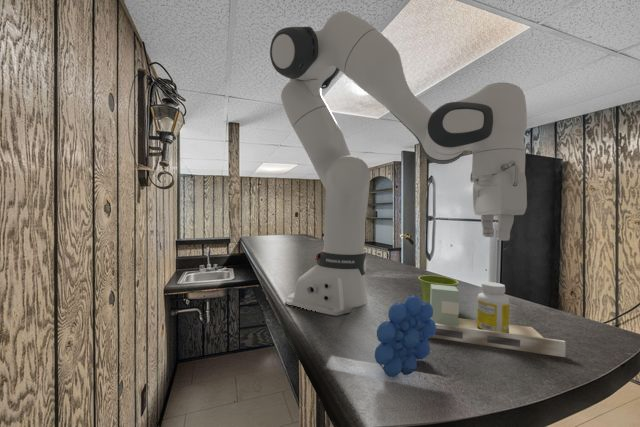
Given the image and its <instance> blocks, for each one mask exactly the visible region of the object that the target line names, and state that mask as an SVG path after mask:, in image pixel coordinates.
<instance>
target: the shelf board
mask: <svg viewBox="0 0 640 427" xmlns="http://www.w3.org/2000/svg"><path fill="white" fill-rule="evenodd" d="M435 324H436V323H435ZM431 339H439V340H445V341H454V342H459V343H467V344H471V345H472V344H473V345H479V346H485V347H486V346H487V347H492V348H494V347H495V348H499V349H508V350H512V351H513V350H514V351H519V352H520V351H521V352H527V353H533V354H541V355H548V356H552V357H553V356H555V357H561V358H566V349H567V348H566V347H567V345H566V344H567V343H566V342H567V341H565V340H563V339H562V340H561V339H556V338H548V337H547V338H546V337H543V335H542V334H540V332H538V331H537V330H536V329H535V328H533V327H532V326H524V325H519V324H518V325H516V324H510V323H509V333H504V332H496V331H489V330H481V329H477V319H468V318H460V317H458V326H451V325H444V324H436V333H435V335H434V336H433V337H431Z"/></svg>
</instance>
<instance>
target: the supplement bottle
mask: <svg viewBox="0 0 640 427" xmlns="http://www.w3.org/2000/svg"><path fill="white" fill-rule="evenodd" d="M481 290H482V292H480V293H478V295H477V302H476V305H477V307H476V308H477V309H476V312H477V313H476V320H477V329H481V330H489V331H496V332H504V333H509V324H510V300H509V298H508V297H507V296H505V295H504V294H506V285H505V284H503V283H499V282H495V281H483V282H481Z"/></svg>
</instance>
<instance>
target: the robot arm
mask: <svg viewBox="0 0 640 427" xmlns="http://www.w3.org/2000/svg"><path fill="white" fill-rule="evenodd" d="M269 46H270V48H269V56H270V61H271V64H272V66H273V69H274V70H275V71H276V72H277V73H279V75H281V76H282V77H284V78H288V79H289V82H287V83H286V84H285V85H284V87H283V88H282V90H281V94H280V98H281V103H282V105H283V108H284V111H285V114H286V116H287V119H288V121H289V123H290V125H291V127H292V128H293V130H294V132H295V134H296V136H297V138H298V139H299V141H300V143H301V144H302V146H303V149H304V150H305V152H306V154H307V156H308V158H309V160H310V162H311V164H312V166H313V168H314V170H315V172H316V174H317V176H318V178H319V180H320V181H321V184H322V186H323V188H324V189H325V198H324V199H325V200H324V201H325V202H324V219H323V220H324V224H323V227H324V228H323V250H321V251H319V253H317V254H316V255H315V258H314V260H316V264H315V265H314V266H312V267H311V268H310V269H309V270H307V271H306V272H305V273H304V274H302V275H301V276H299V278H298V279H297V281H296V284H295V287H294V292H291V293H290V294H289V295H288V296H287V297H286V299H285V304H286V303H288V304H291V305H294V306H297V307H301V308H300V309H302V308H304V309H303V310H306V309H307V311H311V310H312V311H311V312H315V311H316V313H321V314H325V315H329V316H337V317H338V316H341V315H344V314H350V313H351V312H352V310H353V308H357V307H362V306H364V305H366V304H368V302H369V300H368V299H369V298H368V294H367V288H366V279H365V278H366V277H365V275H366V272H367V257H366V256H367V254H366V252H365V240H366V238H365V234H366V218H367V210H368V205H369V204H368V203H369V196H370V195H369V194H370V193H369V192H370V184H371V172H370V169H369V167H368V164H367V163H366V162H365V161H364V160H363V159H362V158H360V157H358V156H354V155H352V154H351V153H350V150H349V147H348V145H347V142H346V140H345V137H344V133H343V132H342V129H341V127H340V126H339V124H338V122H337V120H336V119H335V116H334V115H333V113H332V111H331V109H330V108H329V106H328V104H327V103H326V100H325V99H324V96H323V95H322V90H323V89H324V90H325V89H327V88H328V87H329V86H330V85H331V83H332V81H333V80H334V79H335V78H336V77H337V75H338V74H339V72H341V73H343V74H344V75H345V76H346V77H347V78H348V79H349V80H350V81H351V82H353V83H354V84H355V85H356V86H357V87H359V88H360V89H362V90H363V91H364V92H365V93H367V94H368V95H369V96H371V98H373V99H375V100H376V101H377V102H378V103H380V104H381V105H382V106H383V107H385V108H386V109H387V110H388V111H389V112H390V113H391V114H392V115H393V116H394V117H395V119H397V120H398V121H399V122H400V123H401V124H402V125H403V126H404V127H405V128H406V129H407V130H408V131H409V132H410V133H412V135H413V136H414V137H415V138H416V140H417V141H418V144H419V147H420V149H421V152H422V153H423V156H424V157H426V159H427V160H429V161H430V162H432V163H434V164H437V165H447V164H452V163H454V162H456V161H458V160H459V159H461V157H462V156H463V155H464V154H465V152H466V151H471V153H472V159H471V160H472V162H471V164H472V165H471V173H470V176H469V177H470V179H469V181H470V183H473V184H472V202H473V211H474V215H475V216H480V222H481V226H482V227H481V228H482V236H483V237H485V238H493V237H494V236H495V239H496V240H498V241H504V242H507V241H510V239H511V231H512V227H513V225H514V221H515V216H523V215H524V214H525V213H526V210H527V207H528V199H527V196H528V195H527V194H528V193H527V192H528V191H527V178H526V174H525V173H526V150H527V149H526V146H525V143H524V142H525V141H524V137H525V134H526V132H527V120H528V114H527V113H528V112H527V101H526V96H525V93H524V91H523V89H522V88H521V87H520V86H518V85H516V84H513V83H510V82H496V83H490V84H486V85H484V86H483V87H481V88H480V89H479V90H477V91H476V93H473V94H471V95H470V96H467V97H464V98H462V99H459V100H456V101H449V102H447V103H443V104H442V105H440V106H439V107H437V108H436V109H435V110H433V112H432V110H430V109H429V108H428V107H427V106H426V105H425V104H424V103H423V102H422V101H421V100H419V98H418V97H417V96H415V95H414V93H413V92H412V90H411V88H410V87H409V84H408V81H407V79H406V76H405V73H404V72H405V71H404V67H403V63H402V58H401V56H400V52H399V51H398V50H397V48H396V47H395V46H394V44H393V43H392V41H391V40H390V39H389V38H388V37H387V36H386V35H385V34H384V33H382V32H381V31H380V30H378V28H376V27H375V26H374V25H372V24H371V23H369V22H368V21H366V20H364V19H363V18H361V17H359V16H357V15H355V14H353V13H351V12H348V11H345V10H343V11H342V10H341V11H338V12H334V14H332V15H331V16H330V17H329V18H328V19H327V21H326V22H325V24H324V25H323V28H321V29H320V30H316V31H315V30H314V29H313V27H311V26H287V27H284V28H281V29H279V30H277V32H276V33H275V34H274V36H273V37H272V39H271V43H270V45H269ZM495 216H497V223H498V224H497V229H496V230H495V229H494V219H495V218H494V217H495ZM297 307H296V308H297Z"/></svg>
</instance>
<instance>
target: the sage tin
mask: <svg viewBox="0 0 640 427" xmlns="http://www.w3.org/2000/svg"><path fill="white" fill-rule="evenodd" d="M459 294H460V293H459V290H458V288H457V286H456V287H455V286H444V285H434V284H431V286H430V304H431V306H432V308H433V316H432V317H431V318H430V319H432V320H433V321H434V322H435V323H436V324H444V325H451V326H458V318H459V315H460V302H459V298H460V296H459Z"/></svg>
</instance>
